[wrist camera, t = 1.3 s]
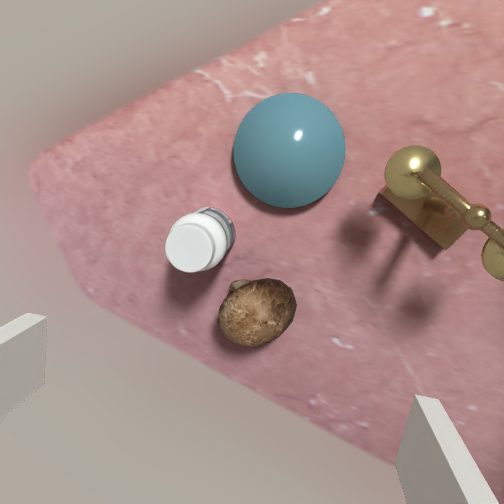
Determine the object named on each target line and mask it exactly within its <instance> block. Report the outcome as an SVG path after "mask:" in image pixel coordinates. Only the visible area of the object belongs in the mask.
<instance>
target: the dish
mask: <svg viewBox="0 0 504 504" xmlns="http://www.w3.org/2000/svg"><path fill="white" fill-rule="evenodd" d="M344 159H345V140H344V135H343V131H342V128H341V126H340V124H339V122H338V120H337V118H336V117H335V116H334V114H333V113H332V112H331V111H330V110H329V108H327V107H326V106H325V105H324V104H323V103H321V102H320V101H318V100H316V99H314V98H312V97H310V96H307V95H303V94H297V93H284V94H278V95H275V96H272V97H269V98H267V99H265V100H263V101H262V102H260V103H258V104H257V105H256V106H255V107H253V108H252V109H251V110H250V111H249V112H248V113H247V115H246V116H245V118H244V119H243V120H242V122H241V124H240V126H239V128H238V131H237V133H236V137H235V141H234V163H235V167H236V170H237V173H238V176H239V178H240V179H241V181H242V183H243V184H244V186H245V187H246V189H247V190H248V191H249V192H250V193H251V194H252V195H254V196H255V197H256V198H257V199H259V200H261V201H262V202H264V203H267V204H269V205H272V206H275V207H281V208H295V207H300V206H304V205H307V204H310V203H312V202H314V201H316V200H318V199H319V198H320V197H322V196H323V195H324V194H325V193H326V192H328V191H329V190H330V188H331V187H332V186H333V185H334V183H335V182H336V180H337V179H338V177H339V175H340V173H341V170H342V167H343V164H344Z"/></svg>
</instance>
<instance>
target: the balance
mask: <svg viewBox="0 0 504 504" xmlns="http://www.w3.org/2000/svg"><path fill="white" fill-rule="evenodd" d="M440 176H441V165H440V161H439V159H438V157H437V156H436V154H435V153H434V152H433V151H431V150H430V149H428V148H426V147H423V146H408V147H405V148H402V149H400V150H398V151H397V152H396V153H394V154H393V155H392V156H391V158H390V159H389V161H388V162H387V165H386V168H385V182H386V185H385V186H384V187H383V188H382V189H381V191H380V192H379V194H380V195H381V196H382V197H383V198H385V199H386V200H387V201H388V202H389V203H390V204H391V205H393V206H394V207H395V208H396V209H397V210H398V211H399V212H401V213H402V214H403V215H404V216H405V217H406V218H408V219H409V220H410V221H411V222H412V223H413V224H414V225H416V226H417V227H418V228H419V229H420V230H421V231H422V232H424V233H425V234H426V235H427V236H428V237H429V238H430V239H432V240H433V241H434V242H435V243H436V244H437V245H438V246H440V247H441V248H443V249H445V250H447V249H448V248H449V247H450V246H451V245H452V244H453V243H454V242H455V241H456V240H457V239H458V238H459V237H460V236H461V235H462V234H463V233H464V232H465V231H466V230H468V229H470V230H481V231H482V232H483V233H485V234H486V235H487V236H488V237H489V239H488V240H487V241H486V243H485V245H484V247H483V250H482V255H481V257H482V263H483V266H484V268H485V269H486V271H487V272H488V273H489V274H490V275H492V276H493V277H495V278H497V279H498V280H501V281H504V229H501V228H500V227H499V226H498V225H496V224H495V223H494V222H493V221H492V220H491V212H490V210H489V209H488V208H487V207H486V206H484V205H482V204H471V203H469V202H468V201H467V200H466V199H465V198H464V197H463V196H462V195H460V194H459V193H458V192H457V191H456V190H455V189H454V188H452V187H451V186H450V185H449V184H448V183H447V182H446V181H445V180H443V179H442V178H441V177H440Z"/></svg>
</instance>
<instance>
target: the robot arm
mask: <svg viewBox="0 0 504 504" xmlns="http://www.w3.org/2000/svg"><path fill="white" fill-rule="evenodd" d="M46 334H47V317H45V316H41V315H36V314H31V313H26V314H24V315H22V316H21V317H19V318H17V319H15V320H13V321H11V322H9V323H7V324H6V325H4V326H2V327H0V421H1V420H2V419H4V418H5V417H6V416H7V415H8V414H10V413H11V412H12V411H13V410H14V409H15V408H17V407H18V406H19V405H20V404H21V403H23V402H24V401H25V400H26V399H27V398H28V397H30V396H31V395H32V394H33V393H34V392H36V391H37V390H38V389H39V388H40V387H41V386H43V385H44V384H45V362H46V336H47V335H46ZM395 466H396V469H397V472H398V475H399V478H400V482H401V485H402V488H403V491H404V495H405V498H406V501H407V504H499V503H498V501H497V499H496V498H495V496H494V494H493V492H492V491H491V489H490V487H489V486H488V484H487V482H486V480H485V479H484V477H483V475H482V474H481V472H480V470H479V468H478V467H477V465H476V463H475V461H474V460H473V458H472V456H471V455H470V453H469V451H468V449H467V448H466V446H465V444H464V443H463V441H462V439H461V437H460V436H459V434H458V432H457V430H456V429H455V427H454V425H453V424H452V422H451V420H450V418H449V417H448V415H447V413H446V412H445V410H444V408H443V406H442V405H441V403H440V401H439V399H434V398H429V397H424V396H420V395H415V396H414V400H413V403H412V406H411V410H410V413H409V417H408V420H407V424H406V427H405V430H404V434H403V437H402V441H401V444H400V447H399V451H398V454H397V458H396V461H395Z"/></svg>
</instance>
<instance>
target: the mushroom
mask: <svg viewBox="0 0 504 504" xmlns="http://www.w3.org/2000/svg"><path fill="white" fill-rule="evenodd" d="M230 289H231V290H232V292H231V293H229V294H228V295H227V297H226V298H225V300H224V301H223V303H222V304H221V306H220V309H219V317H218V323H219V326H220V328H221V330H222V332H223V334H224V336H225V338H226V339H228V340H229V341H231V342H233V343H235V344H237V345H240V346H243V347H257V346H260V345H263V344H266V343H269V342H271V341H272V340H274V339H275V338H277V337H279V336H280V335H281V334H282V333H283V332H284V331H285V330H286V329H287V328H288V326H289V325H290V324H291V323H292V321H293V318H294V315H295V311H296V306H297V304H296V300H295V297H294V294H293V291H292V289H291V288H290V287H289V286H287V285H286V284H284V283H283V282H282V281H280V280H275V279H269V278H266V279H260V280H254V281H250V280H245V279H244V280H238V281H234V282H232V283H231V284H230Z"/></svg>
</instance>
